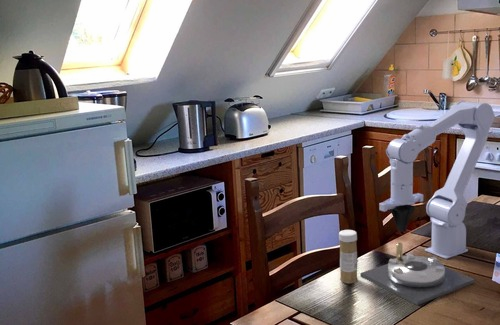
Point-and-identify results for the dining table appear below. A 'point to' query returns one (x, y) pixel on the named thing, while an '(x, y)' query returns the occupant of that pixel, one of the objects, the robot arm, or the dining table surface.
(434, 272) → the tabbed hub disc
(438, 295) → the base plate
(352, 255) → the sprinkles bottle
